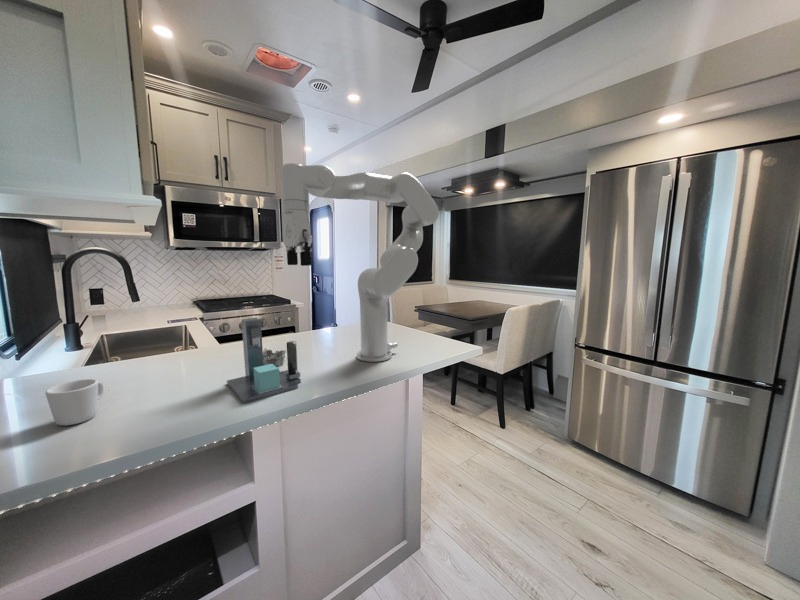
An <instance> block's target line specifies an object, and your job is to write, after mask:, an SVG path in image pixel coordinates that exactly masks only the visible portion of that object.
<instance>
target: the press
mask: <svg viewBox="0 0 800 600" xmlns="http://www.w3.org/2000/svg"><path fill="white" fill-rule="evenodd" d="M241 329H242V331H241V333H242V343H243V344H242V345H243V346H242V347H243V359H244V372H245V373H244V374H245V375H244V376H240V377H237V378H232V379H227V380H226V385H227V386H228V387H229V388H230V389H231V391H232V392H233V393H234V395H235V396H236V397H237V398H238V399H239V401H240V402H241V403H242V404H246V403H250V402H253V401H256V400H261V399H264V398H267V397H271V396H274V395H278V394H282V393H285V392H288V391H291V390H296V389H299V384H301V382H302V380H301V377H298V378H294V379H291V380H290V379H289V378H287V377H286V372H288V369H286V370H283V371H282V370H281V371H280V370H279V375H280V387H276V388H272V389H269V390H265V391H259V390H258V389H257V388H256V387H255V385H254V370H253V368H255V367H260V366H264V365H263V351H264V349H263V335H262V321H261V319H260V318H258V317H250V318H242V319H241ZM296 383H297V384H296Z"/></svg>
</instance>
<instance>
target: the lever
mask: <svg viewBox="0 0 800 600" xmlns="http://www.w3.org/2000/svg"><path fill="white" fill-rule="evenodd" d="M297 352H298V351H297V341H294V340H293V341H292V340H291V341H287V342H286V356H287V357H286V359H287V370H288V372H286V377H287V378H289V379H290V380H291V379H294V378H301V372H299V369H298V353H297Z"/></svg>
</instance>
